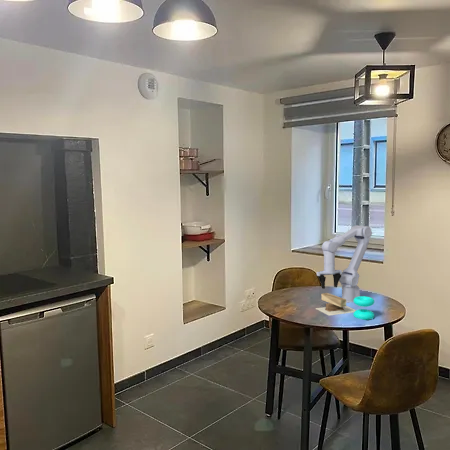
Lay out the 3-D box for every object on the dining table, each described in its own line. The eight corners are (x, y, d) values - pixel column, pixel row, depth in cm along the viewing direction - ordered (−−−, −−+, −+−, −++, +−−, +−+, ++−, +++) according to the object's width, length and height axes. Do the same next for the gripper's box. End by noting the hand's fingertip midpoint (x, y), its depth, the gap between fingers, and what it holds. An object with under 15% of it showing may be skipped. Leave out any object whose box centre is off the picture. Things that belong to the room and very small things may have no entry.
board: (344, 305, 254) (344, 304, 254) (359, 312, 240) (359, 311, 240) (315, 309, 248) (315, 308, 248) (328, 316, 235) (328, 315, 235)
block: (339, 307, 248) (339, 301, 248) (344, 309, 244) (344, 303, 244) (324, 309, 246) (324, 303, 245) (328, 311, 241) (328, 305, 241)
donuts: (372, 295, 235) (375, 300, 225) (372, 315, 236) (375, 321, 226) (352, 295, 237) (354, 300, 227) (352, 314, 238) (354, 320, 228)
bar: (326, 299, 253) (326, 292, 253) (346, 306, 239) (346, 299, 238) (321, 299, 252) (321, 293, 251) (340, 306, 237) (340, 300, 237)
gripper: (337, 261, 259) (337, 284, 260) (313, 263, 255) (314, 287, 256) (344, 263, 252) (344, 287, 254) (320, 265, 248) (320, 290, 249)
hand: (329, 287), depth 254 cm, fingers open, 7 cm apart
